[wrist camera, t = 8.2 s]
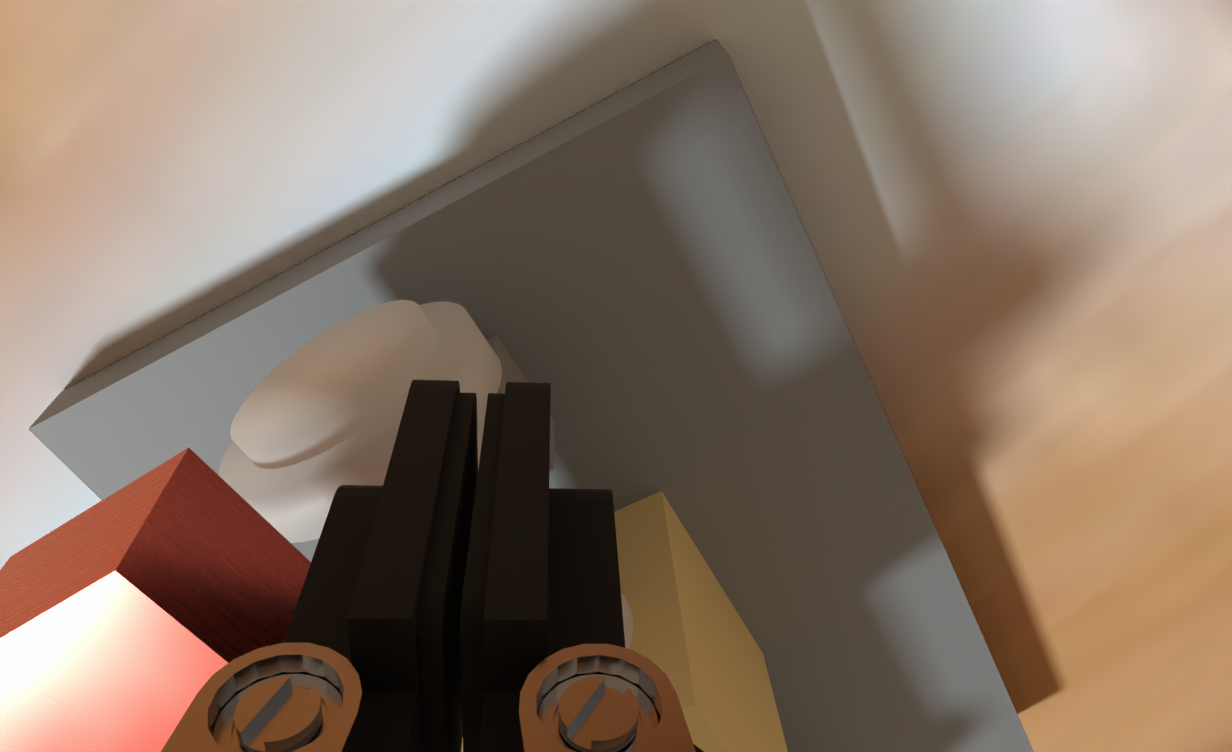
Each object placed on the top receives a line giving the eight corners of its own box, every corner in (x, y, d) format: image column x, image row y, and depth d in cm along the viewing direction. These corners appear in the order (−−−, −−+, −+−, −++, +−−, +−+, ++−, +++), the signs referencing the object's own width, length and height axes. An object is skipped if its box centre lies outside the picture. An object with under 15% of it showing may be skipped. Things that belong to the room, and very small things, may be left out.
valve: (1015, 716, 28) (1198, 1071, 20) (549, 886, 31) (546, 1254, 23) (716, 38, 18) (848, 210, 10) (61, 391, 21) (-252, 745, 13)
